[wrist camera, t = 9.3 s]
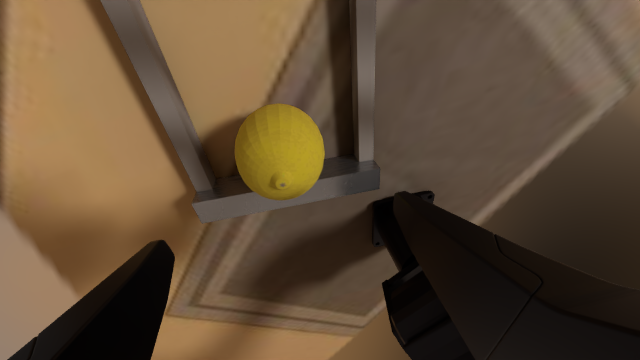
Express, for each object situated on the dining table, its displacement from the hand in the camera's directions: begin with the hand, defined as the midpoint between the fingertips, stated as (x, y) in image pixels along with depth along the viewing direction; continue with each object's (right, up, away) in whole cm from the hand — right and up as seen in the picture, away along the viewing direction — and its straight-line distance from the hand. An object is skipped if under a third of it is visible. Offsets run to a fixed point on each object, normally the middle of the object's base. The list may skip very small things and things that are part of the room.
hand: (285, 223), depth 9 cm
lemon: (-2, +6, +9) cm, 11 cm away
